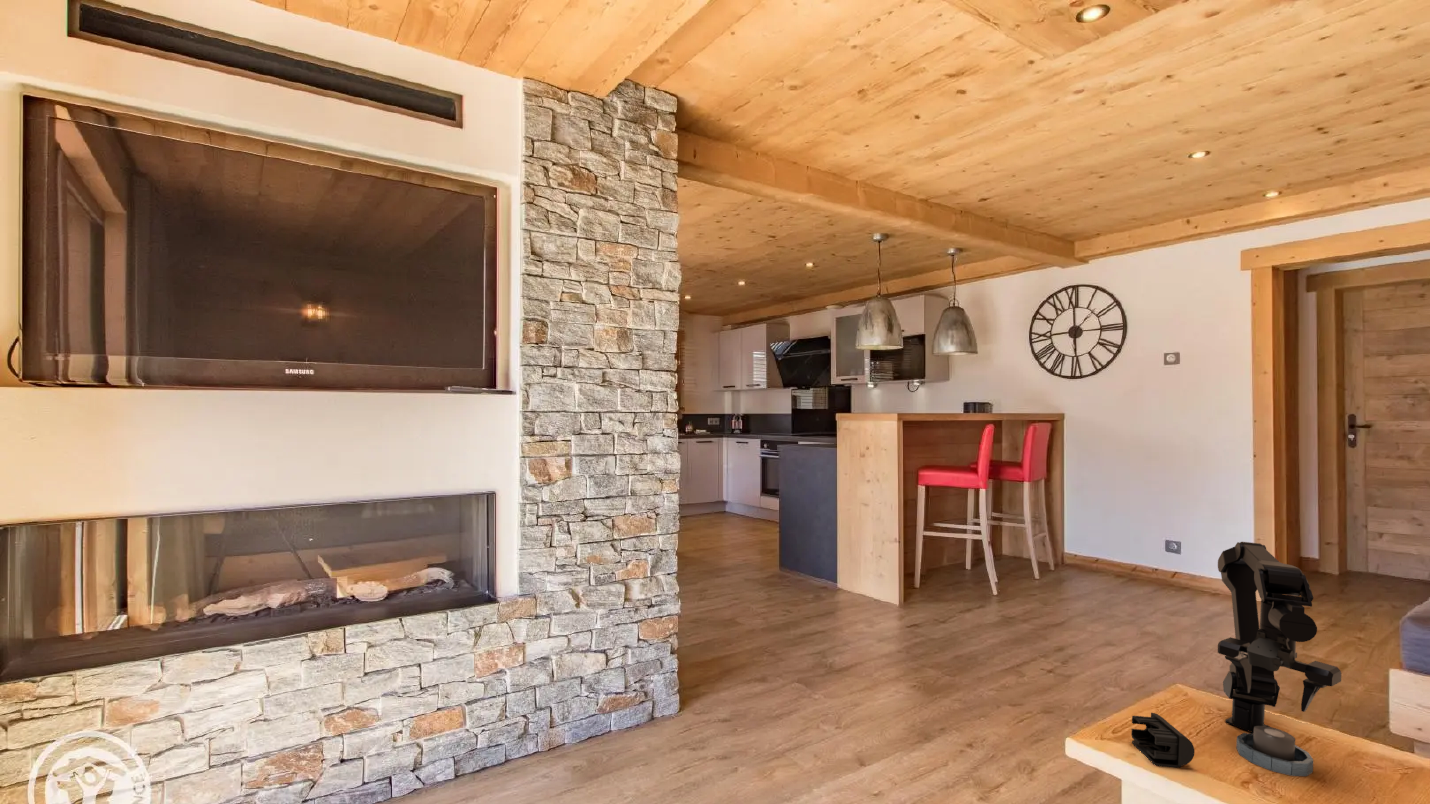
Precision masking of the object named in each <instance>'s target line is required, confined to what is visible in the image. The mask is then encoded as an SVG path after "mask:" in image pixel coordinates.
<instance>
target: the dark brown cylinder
mask: <svg viewBox="0 0 1430 804" xmlns="http://www.w3.org/2000/svg"><path fill="white" fill-rule="evenodd" d="M1268 726H1269V725H1268ZM1268 726H1255V727H1254V735H1253V749H1254V750H1256V751H1258V752H1261V753H1263V754H1266V755H1269V756H1271V757H1275V758H1279V759H1283V760H1288V761H1294V757H1295V745H1296V738H1295V737H1294V736H1293V735H1292V734H1290V733H1288V732H1286V731H1284V730H1281V729H1278V728H1275V727H1272V726H1270V727H1268Z"/></svg>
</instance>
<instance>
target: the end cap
mask: <svg viewBox="0 0 1430 804" xmlns="http://www.w3.org/2000/svg"><path fill="white" fill-rule="evenodd" d="M1131 724H1133V725H1144V726H1145V728H1144V729H1138V728H1131V735H1130V736H1131V738H1132V741H1131V743H1132V745H1133V746H1134V747H1135V749H1137V750H1138V751H1139V752H1140V751H1141V752H1140V753H1141V754H1142V753H1143V754H1144V755H1145V756H1146V757H1147V758H1148V759H1147V758H1146V757H1145V756H1144V755H1143V754H1142V755H1143V756H1144V757H1145V758H1146V759H1147V760H1148V761H1150V762H1151V761H1152V762H1151V764H1152V765H1154V764H1155V765H1156V767H1159V768H1160V767H1161V768H1162V767H1163V768H1173V769H1180V768H1181V767H1182V766H1183V767H1184V766H1186V765H1188V764H1190V762H1192V760H1193V758H1194V757H1195V747H1194V744H1193V743H1192V741H1191V740H1190V739H1189V738H1188V737H1186V736H1185V735H1184V734H1183V733H1182V732H1180V731H1179V730H1178V729H1177V728H1175V727H1174V725H1172V724H1171V723H1170V722H1168V721H1167V720H1166V719H1165V718H1164V717H1162V716H1161V715H1159V714H1158V713H1155V712H1151V713H1150V716H1144V715H1132V717H1131ZM1155 765H1154V766H1155Z"/></svg>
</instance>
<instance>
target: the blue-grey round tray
mask: <svg viewBox="0 0 1430 804" xmlns="http://www.w3.org/2000/svg"><path fill="white" fill-rule="evenodd" d="M1253 735H1254V733H1252V732H1250V733H1249V732H1242V733H1241V734H1239V735H1236V750H1237V752H1238V754H1239V756H1241V757H1243V758H1244V759H1245V760H1247V761H1248V762H1250V763H1251V764H1254V765H1256V766H1258V767H1261V768H1263V769H1265V770H1267V771H1270V772H1273V773H1279V774H1283V775H1288V776H1292V777H1307V776H1310V775H1311V774H1312V773H1313V772H1314V758H1313V757H1312V755H1311V754H1310V753H1309V752H1308V751H1307V750H1305V749H1303V748H1301V747H1300V746H1299V745H1296V744H1295V757H1294V761H1288V760H1283V759H1279V758H1275V757H1271V756H1269V755H1266V754H1263V753H1261V752H1258V751H1256V750H1254V749H1253Z"/></svg>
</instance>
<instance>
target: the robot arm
mask: <svg viewBox="0 0 1430 804" xmlns="http://www.w3.org/2000/svg"><path fill="white" fill-rule="evenodd" d="M1217 570H1218V573H1220V576H1221V581H1222V583H1223V584H1224V585H1225V586H1226V588H1227V589H1228V590H1229V591H1230V594H1231V603H1232V604H1231V606H1232V613H1233V624H1234V625H1233V626H1234V636H1235V637H1232V636H1230V637H1228V638H1225V639H1221V640H1220V641H1218V644H1217V654H1220V655H1222V656H1224V659H1225V660H1228V661H1230V662H1231V663H1230V665H1229V671H1228V672H1227V673H1226V676H1225V677H1224V679H1223V680H1222V681H1223V682H1222V688H1223V693H1225V695H1226V696H1227V697H1228V699H1230V700H1232V701H1231V702H1232V704H1231V706H1232V707H1231V716H1230V717H1228V718H1226V719H1225V720H1224V722H1225V723H1226V724H1228V725H1231V726H1234V727H1237V728H1239V729H1242V730H1245V731H1247V732H1250V733H1254V727H1255V726H1268V727H1271V726H1270V725H1268V724H1265V712H1266V711H1265V709H1266V707H1265V706H1269V707H1272V708H1276V706H1277V703H1278V698H1279V693H1280V690H1281V687H1280V685H1279V683H1278V680H1277V679H1276V678H1275V672H1277V671H1279V670H1280V667H1281V668H1286V669H1290V670H1293V671H1297V672H1300V673H1304V676H1305V677H1306V678H1305V679H1303V680H1302V684H1303V691H1302V697H1301V703H1300V704H1301V706H1300V709H1301V712H1302V713H1303V712H1306V711H1307V710H1308V708H1309V706H1310V704H1311V703H1312V701H1313V699H1314V698H1315V696H1316V695H1317V693H1318V692H1319V691H1320V689H1321V688H1322V689H1324V688H1326V687H1334V686H1336V685H1338V684H1339V683H1341V682H1342V670H1340V668H1339V667H1338V666H1335V665H1332V664H1329V663H1324V662H1321V661H1317V660H1313V661H1311V662H1310V663H1307V662H1302V661H1298V660H1296V659H1297V658H1298V652H1296V648H1297V646H1296V644H1297V643H1305V642H1309V641H1310V640H1313V638H1315V637H1316V635H1317V633H1318V627H1317V623H1316V622H1315V621H1314V619H1313V618H1312V617H1311V616H1309V615H1308V614H1307V613H1305V612H1306V611H1305V607H1310V608H1312V607H1313V603H1312V602H1313V600H1314V595H1313V592H1312V589H1311V586H1310V583H1309V581H1308V579H1307V577H1306V575H1305V574H1304V573H1303V571H1302V570H1301V569H1300V568H1299V567H1298V566H1297V567H1296V565H1295V566H1294V565H1292V564H1288V563H1283V562H1281V561H1279V560H1278V559H1277V558H1276V557H1275V556H1274V555H1273V554H1271V553H1270V552H1269V551H1268V550H1267V547H1266V545H1264V544H1262V543H1257V542H1249V541H1239V542H1238V541H1237V542H1236V544H1235V545H1234V546H1232V547H1230V548H1228V549H1225V550H1223V551H1222V552H1221V554H1220V555H1219V557H1218V560H1217ZM1257 593H1258V595H1259V599H1260V612H1259V611H1258V602H1257ZM1259 613H1260V614H1259ZM1259 615H1260V616H1259Z"/></svg>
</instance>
